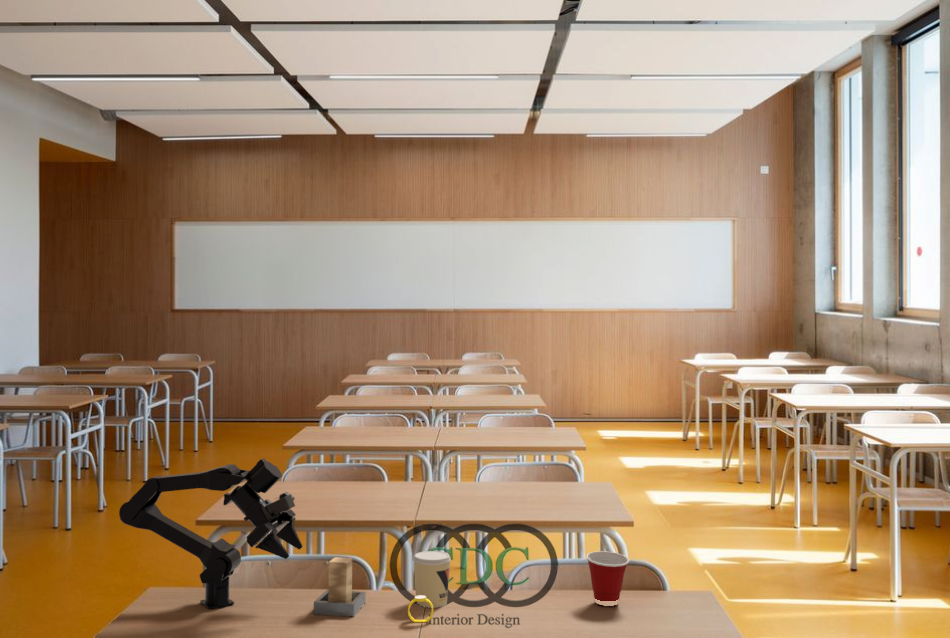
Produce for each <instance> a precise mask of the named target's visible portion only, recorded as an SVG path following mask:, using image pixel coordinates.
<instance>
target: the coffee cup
mask: <svg viewBox="0 0 950 638" xmlns="http://www.w3.org/2000/svg"><path fill="white" fill-rule="evenodd" d="M413 565H414V570H413V571H414V585H415V586H414V587H415V596H418V595H424V596H426V598H427V599H428V600H430V601H431V603H432V605H433V609H435V608H442V607H444V606H447V603H448V592H449V581H450V580H449V579H450V566H451V556H450V554H449V553H447V552H444V551H439V550H425V551H419V552H417V553H416V554H414V556H413ZM416 602H417V603H418V604H420V605H422V606H426V607H428V608H427V609H431V606H430V604H429V603H428V602H426V601H421V602H418V601H415V603H416ZM417 603H416V604H417ZM426 607H425V608H426Z"/></svg>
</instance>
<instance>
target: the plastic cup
mask: <svg viewBox="0 0 950 638" xmlns="http://www.w3.org/2000/svg"><path fill="white" fill-rule="evenodd" d="M586 559H587V562H588V565H589V572H590V578H591V579H590V581H591V586H592V592H593V598H595V599H597V600H600V601H616V600H618V599H619V600H620V596H621V592H622V589H623V588H622V587H623V583H624V577H625V572H626V570H627V565H628V564H630V563H629V562H630V559H629V557H627V556H625V555H624V554H622V553H618V552H613V551H605V550H597V551H596V550H595V551H591V552H588V553H587V554H586Z"/></svg>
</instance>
